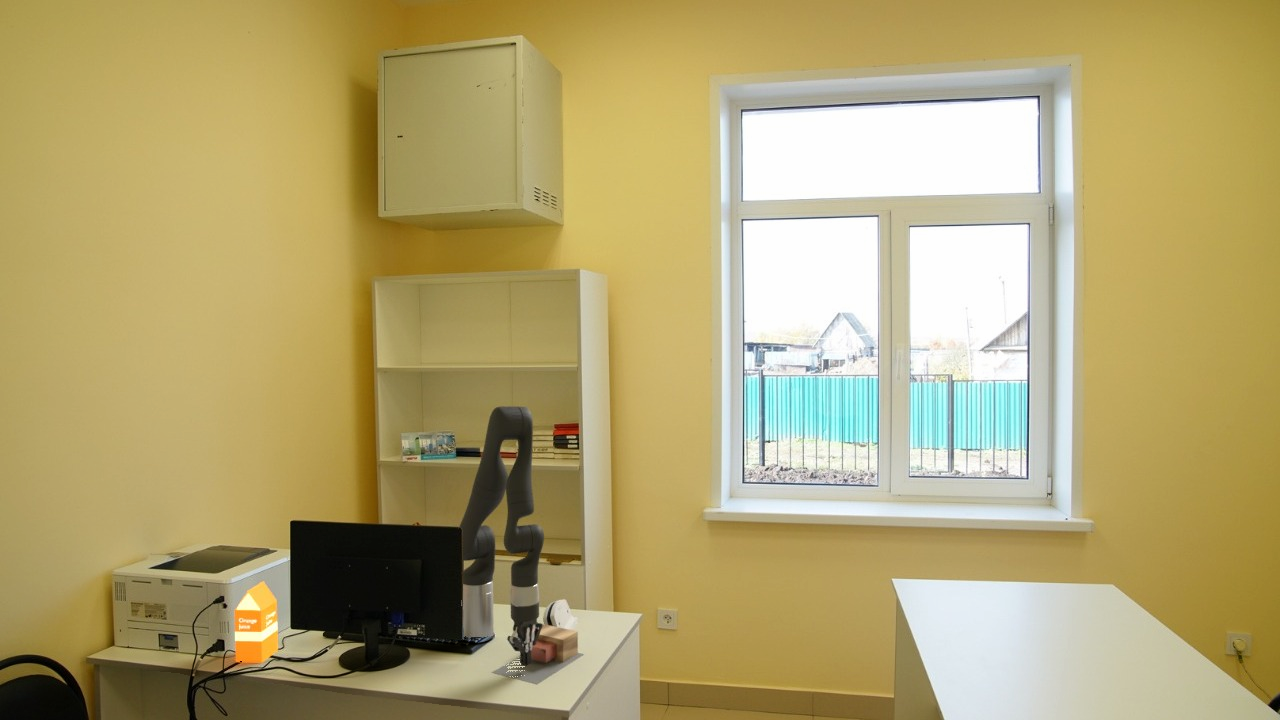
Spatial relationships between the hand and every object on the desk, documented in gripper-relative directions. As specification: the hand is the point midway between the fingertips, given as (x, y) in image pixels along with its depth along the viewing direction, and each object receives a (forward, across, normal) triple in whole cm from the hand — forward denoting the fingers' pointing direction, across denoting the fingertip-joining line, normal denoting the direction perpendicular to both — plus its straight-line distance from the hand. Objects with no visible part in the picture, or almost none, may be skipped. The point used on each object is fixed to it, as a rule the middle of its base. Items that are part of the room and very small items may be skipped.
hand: (525, 664), depth 217 cm
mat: (+2, -6, 0) cm, 7 cm away
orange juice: (+2, +26, -74) cm, 78 cm away
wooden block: (+2, -13, 0) cm, 14 cm away
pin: (+2, -12, 0) cm, 13 cm away
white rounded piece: (+3, -29, -9) cm, 30 cm away
